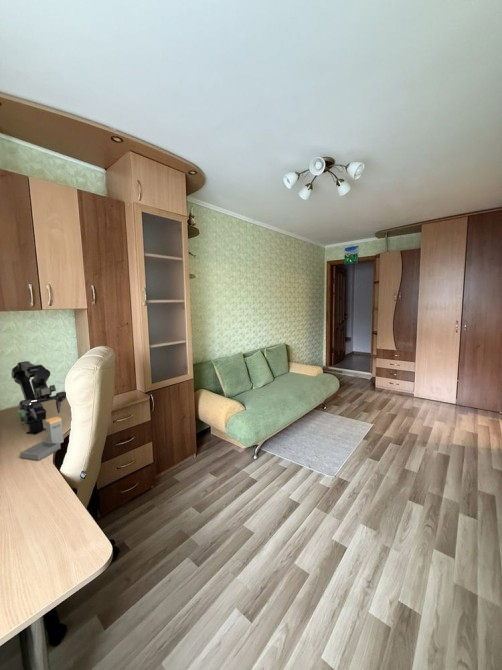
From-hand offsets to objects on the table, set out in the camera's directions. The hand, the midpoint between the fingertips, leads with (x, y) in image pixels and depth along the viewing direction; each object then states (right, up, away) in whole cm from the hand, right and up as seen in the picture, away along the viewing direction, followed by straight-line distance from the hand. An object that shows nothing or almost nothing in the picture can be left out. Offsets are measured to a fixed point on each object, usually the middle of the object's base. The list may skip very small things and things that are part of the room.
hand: (48, 416), depth 132 cm
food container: (-31, -13, +30) cm, 45 cm away
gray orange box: (+1, -15, +4) cm, 16 cm away
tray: (+1, -16, -5) cm, 17 cm away
